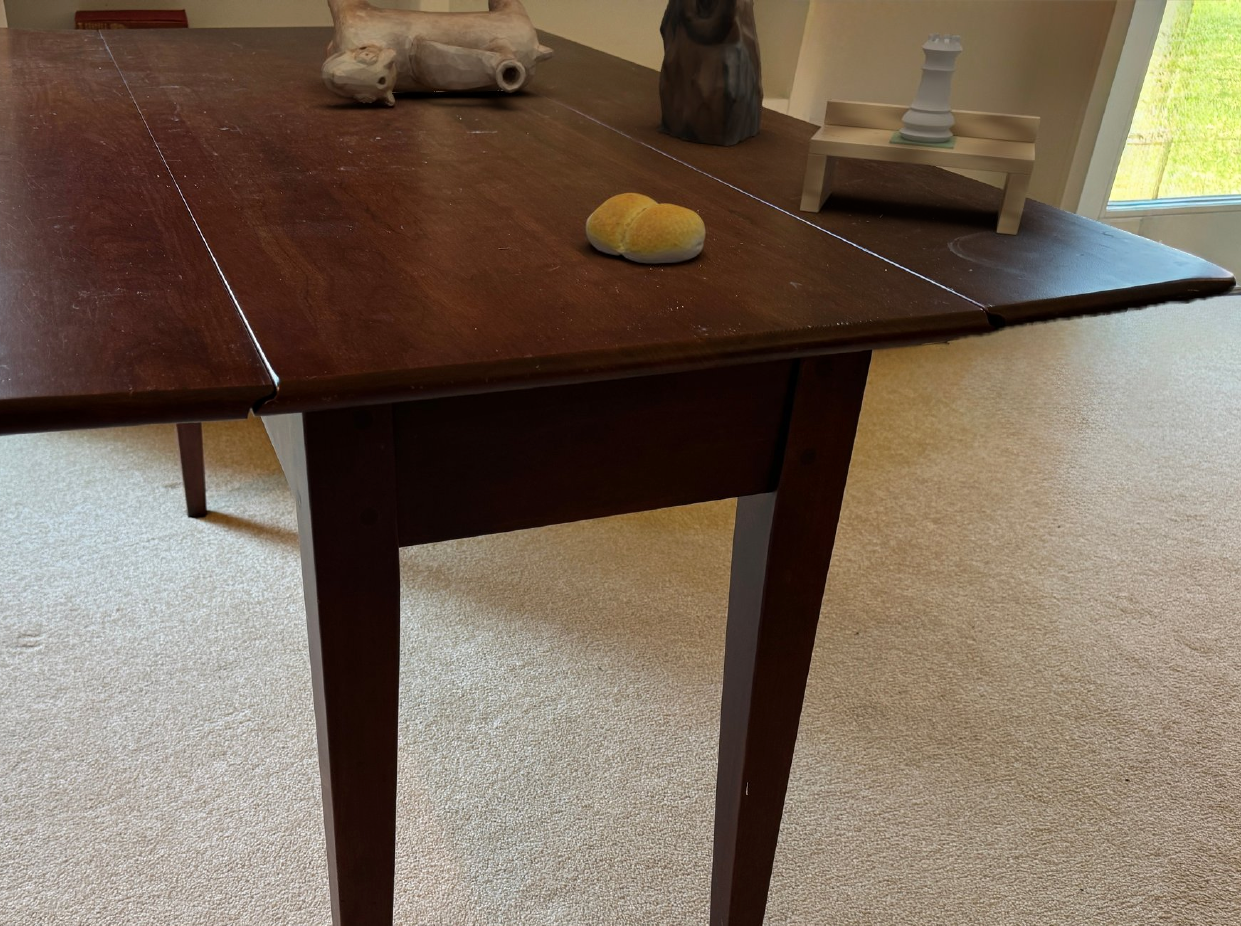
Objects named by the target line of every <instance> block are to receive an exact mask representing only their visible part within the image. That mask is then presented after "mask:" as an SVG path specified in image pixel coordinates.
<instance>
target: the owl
mask: <svg viewBox="0 0 1241 926" xmlns="http://www.w3.org/2000/svg"><path fill="white" fill-rule="evenodd" d="M754 5H755V2H754V0H668V2H667V4H666V8H665V10H664V13H663V16H662V19H661V23H660V26H659V33H660V36H661V39H662V44H663V52H664V55H663V60H662V63H661V67H660V73H659V77H658V78H659V80H658V81H659V82H658V95H659V101H660V111H661V121H660V124H659V126H658V128H657V129H656V131H657V132H658V133H662V134H666V135H667V134H668V136H669V137H673V138H678V139H681V141H685V142H692V143H698V144H708V145H709V144H710V145H715V146H717V145H718V146H722V147H729V146H735V145H736V144H738V143H739V142H744V141H745V140H747V139H748V138H753V137H755V136H757V134H759V133H760V132H761V124H762V118H763V109H764V108H763V107H764V106H763V101H764V96H765V95H764V89H763V81H762V79H763V77H762V62H761V61H762V60H761V48H760V43H759V42H760V41H759V37H758V32H757V25H756V21H755V15H754ZM752 136H753V137H752Z"/></svg>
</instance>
